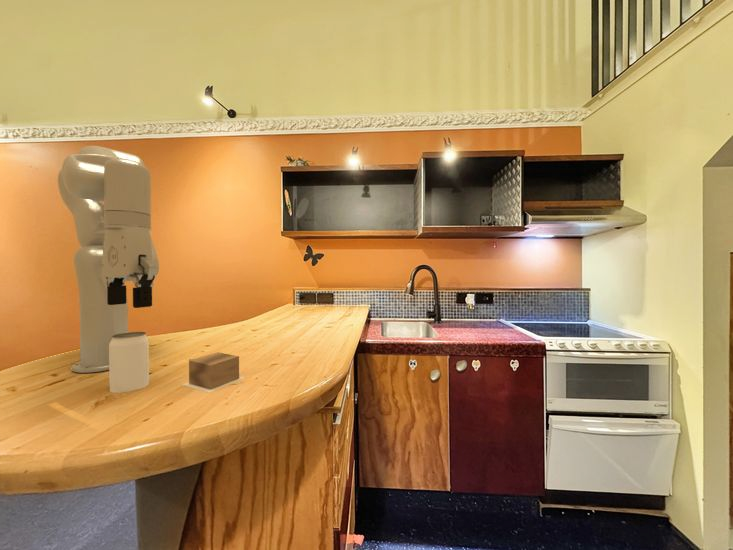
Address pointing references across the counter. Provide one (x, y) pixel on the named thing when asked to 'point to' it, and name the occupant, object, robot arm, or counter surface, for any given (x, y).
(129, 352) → the can
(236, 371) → the block
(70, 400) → the counter surface
